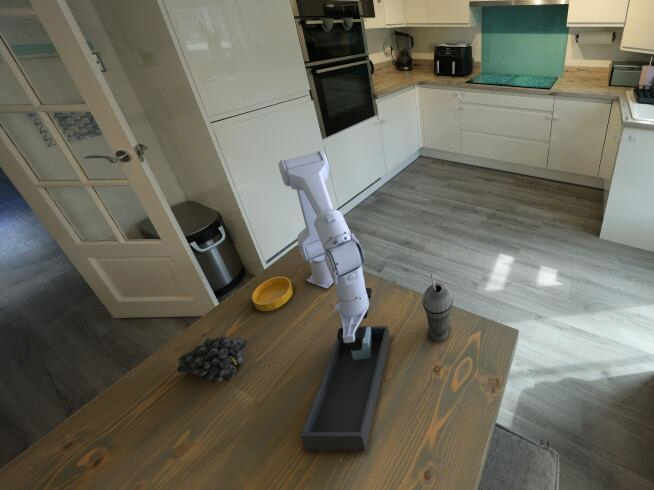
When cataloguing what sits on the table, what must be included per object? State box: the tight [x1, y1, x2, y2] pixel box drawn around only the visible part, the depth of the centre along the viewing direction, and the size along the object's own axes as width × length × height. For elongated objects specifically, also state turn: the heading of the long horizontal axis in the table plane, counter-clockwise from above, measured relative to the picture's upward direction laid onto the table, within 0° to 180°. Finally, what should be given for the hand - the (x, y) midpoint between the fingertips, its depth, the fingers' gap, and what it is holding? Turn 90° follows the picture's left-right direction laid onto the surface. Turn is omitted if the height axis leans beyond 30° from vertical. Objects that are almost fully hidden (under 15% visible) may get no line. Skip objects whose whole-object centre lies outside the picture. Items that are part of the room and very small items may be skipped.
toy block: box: [351, 327, 373, 360], centre depth 73 cm, size 4×4×6 cm
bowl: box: [251, 276, 294, 312], centre depth 87 cm, size 9×9×3 cm
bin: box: [299, 325, 391, 451], centre depth 66 cm, size 21×11×5 cm, turn 0°
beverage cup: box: [421, 272, 454, 342], centre depth 75 cm, size 7×7×20 cm
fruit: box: [176, 335, 248, 385], centre depth 69 cm, size 9×8×15 cm
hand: (359, 332), depth 71 cm, fingers open, 7 cm apart
